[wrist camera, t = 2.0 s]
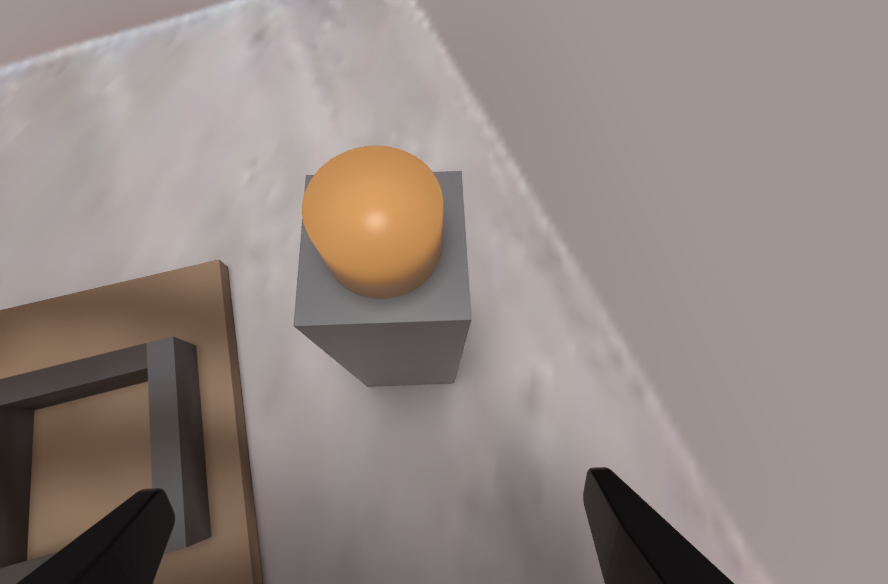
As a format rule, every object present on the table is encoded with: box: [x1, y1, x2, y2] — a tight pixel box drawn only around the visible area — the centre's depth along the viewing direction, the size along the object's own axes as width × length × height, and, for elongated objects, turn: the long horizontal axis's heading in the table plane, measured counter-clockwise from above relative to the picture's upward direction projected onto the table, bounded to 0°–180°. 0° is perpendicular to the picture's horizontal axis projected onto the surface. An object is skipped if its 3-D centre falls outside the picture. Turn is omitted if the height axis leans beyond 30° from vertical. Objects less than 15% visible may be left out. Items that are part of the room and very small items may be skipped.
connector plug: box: [294, 146, 471, 387], centre depth 16 cm, size 4×4×14 cm
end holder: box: [0, 260, 263, 584], centre depth 19 cm, size 18×12×3 cm, turn 15°
